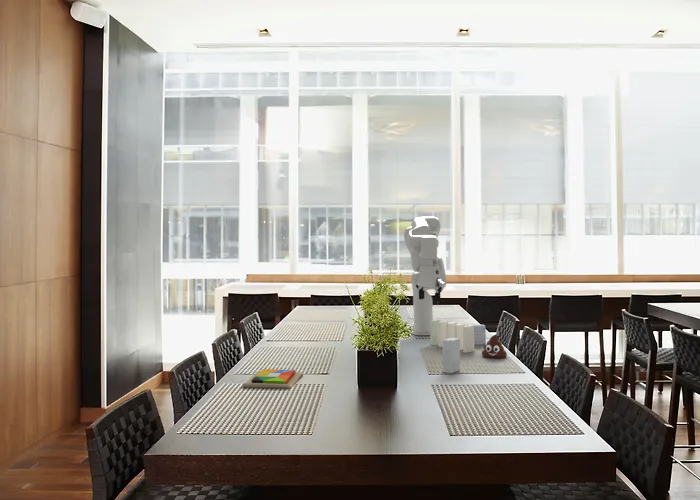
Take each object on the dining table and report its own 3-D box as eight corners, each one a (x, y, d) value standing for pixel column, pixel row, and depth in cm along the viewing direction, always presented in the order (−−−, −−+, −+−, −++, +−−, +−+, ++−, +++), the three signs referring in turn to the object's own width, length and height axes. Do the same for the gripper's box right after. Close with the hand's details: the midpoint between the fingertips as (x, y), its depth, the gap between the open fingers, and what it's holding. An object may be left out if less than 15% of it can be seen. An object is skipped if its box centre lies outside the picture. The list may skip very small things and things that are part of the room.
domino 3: (446, 348, 259) (445, 323, 259) (454, 346, 262) (454, 322, 262) (448, 348, 258) (448, 323, 258) (457, 347, 261) (456, 322, 261)
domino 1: (430, 344, 268) (430, 320, 268) (438, 343, 271) (438, 319, 270) (432, 345, 267) (432, 321, 266) (441, 343, 270) (440, 319, 269)
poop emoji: (508, 355, 243) (508, 333, 242) (504, 360, 235) (504, 336, 234) (484, 353, 247) (483, 331, 246) (479, 358, 239) (479, 335, 239)
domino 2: (438, 346, 264) (437, 322, 263) (446, 345, 267) (445, 320, 266) (440, 347, 262) (440, 322, 262) (448, 345, 265) (448, 321, 265)
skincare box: (450, 368, 222) (449, 337, 221) (460, 370, 219) (460, 338, 218) (441, 372, 217) (441, 339, 217) (452, 374, 214) (451, 340, 214)
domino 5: (463, 352, 251) (462, 326, 250) (471, 350, 254) (471, 325, 253) (466, 352, 250) (465, 326, 249) (474, 351, 252) (474, 325, 252)
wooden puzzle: (241, 389, 202) (240, 379, 202) (259, 375, 221) (258, 366, 221) (290, 390, 199) (290, 380, 199) (304, 376, 218) (303, 367, 218)
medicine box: (484, 343, 269) (484, 324, 268) (486, 345, 264) (485, 326, 264) (467, 343, 269) (466, 324, 269) (468, 345, 265) (467, 326, 265)
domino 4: (454, 350, 255) (454, 324, 255) (462, 348, 258) (462, 323, 258) (457, 350, 254) (456, 325, 253) (465, 349, 257) (465, 324, 256)
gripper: (449, 263, 266) (449, 300, 267) (420, 261, 279) (420, 297, 280) (438, 264, 261) (438, 302, 262) (409, 262, 274) (410, 299, 275)
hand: (429, 300), depth 271 cm, fingers open, 9 cm apart
